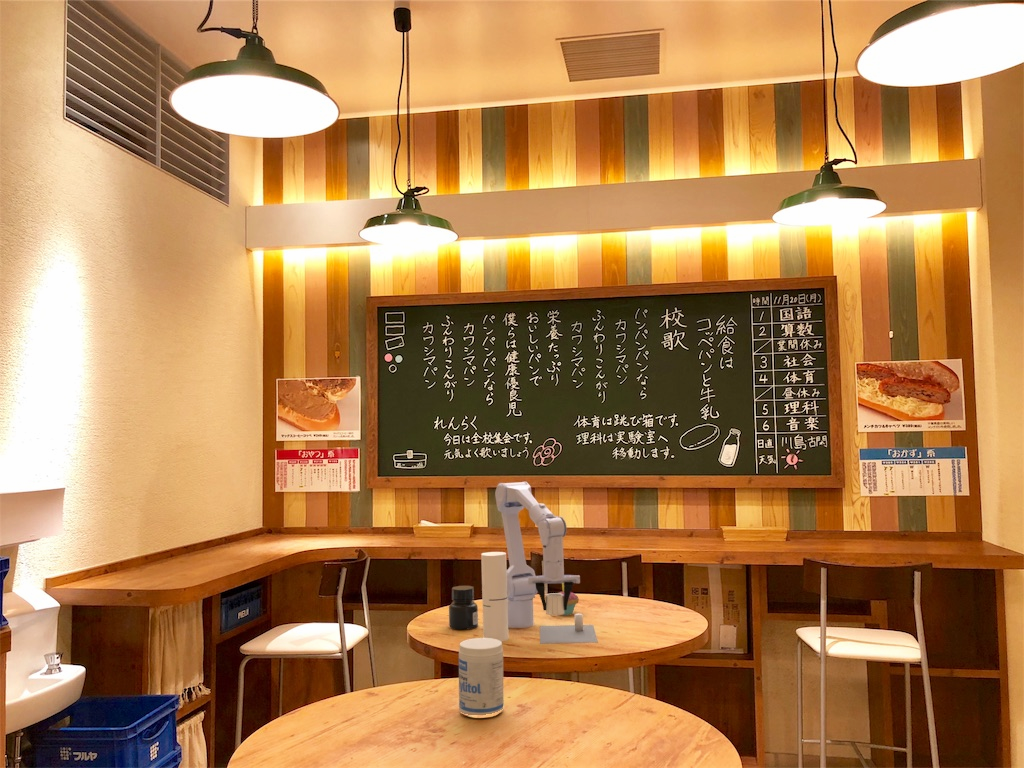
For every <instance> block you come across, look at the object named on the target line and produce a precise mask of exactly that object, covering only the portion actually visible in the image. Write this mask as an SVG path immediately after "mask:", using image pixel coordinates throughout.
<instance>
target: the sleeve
mask: <svg viewBox="0 0 1024 768" xmlns="http://www.w3.org/2000/svg"><path fill="white" fill-rule="evenodd" d="M545 603H546V610H545V614H546V615H548V616H563V615H562V614H564V594H560V593H559V592H555V593H554V592H553V593H552V592H551V593H547V594H545Z"/></svg>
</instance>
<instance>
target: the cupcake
mask: <svg viewBox="0 0 1024 768" xmlns="http://www.w3.org/2000/svg"><path fill="white" fill-rule="evenodd" d="M561 588H562V589H561V590H562V591H559V592H558V593H560V594H564V583H561ZM579 600H580V599H579V596H578V595H577V594H575V593H574V592H572V591H571V593H570V595H569V599H568V603H567V610H564V614H562V615H561V616H571V615H573V614H574V610H575V607H576V604H578V603H579ZM570 614H571V615H570Z"/></svg>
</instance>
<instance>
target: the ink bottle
mask: <svg viewBox="0 0 1024 768" xmlns="http://www.w3.org/2000/svg"><path fill="white" fill-rule="evenodd" d="M474 590H475V589H474V586H471V585H458V586H453V587H452V588H451V600H452V602H451V604H450V605H449V606H448V619H449V621H448V625H449V628H451V629H452V630H457V631H465V630H466V631H467V630H472V629H476V628H478V626H479V612H478V611H479V609H478V604H477V603H476V602H475V601H474V600H475V598H474V597H475V591H474Z"/></svg>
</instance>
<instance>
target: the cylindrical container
mask: <svg viewBox="0 0 1024 768" xmlns="http://www.w3.org/2000/svg"><path fill="white" fill-rule="evenodd" d="M480 555H481V556H480V557H481V558H480V559H481V562H480V563H481V591H482V592H481V593H482V594H481V597H482V599H481V600H482V628H483V629H482V630H483V631H482V632H483V637H482V638H492V639H497V640H500V641H501V642H502V643H503V642H506V641H509V636H510V634H509V628H508V625H509V624H508V600H507V553H506V552H504V551H487V552H482V553H480Z"/></svg>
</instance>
